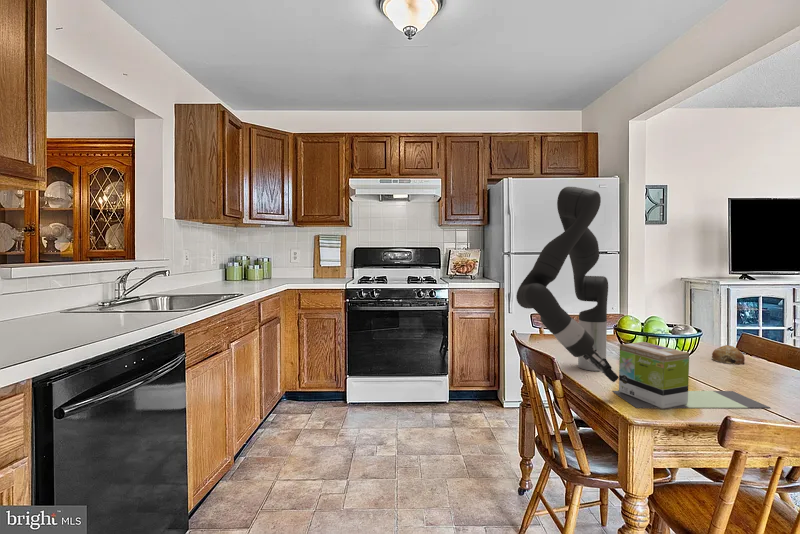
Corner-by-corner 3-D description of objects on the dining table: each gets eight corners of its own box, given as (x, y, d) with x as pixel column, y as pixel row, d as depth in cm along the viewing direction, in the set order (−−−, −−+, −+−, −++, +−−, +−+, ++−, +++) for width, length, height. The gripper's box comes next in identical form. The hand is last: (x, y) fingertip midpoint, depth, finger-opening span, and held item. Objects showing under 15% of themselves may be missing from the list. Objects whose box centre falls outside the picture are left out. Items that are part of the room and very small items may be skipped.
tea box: (617, 392, 134) (618, 343, 134) (642, 388, 138) (643, 340, 137) (662, 409, 120) (664, 354, 120) (689, 404, 124) (690, 351, 123)
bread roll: (715, 371, 171) (719, 355, 168) (706, 354, 180) (710, 338, 176) (745, 373, 168) (750, 356, 165) (735, 356, 177) (740, 340, 174)
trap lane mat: (612, 391, 136) (612, 390, 136) (732, 391, 136) (732, 391, 136) (636, 408, 122) (636, 407, 122) (770, 408, 122) (770, 407, 122)
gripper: (592, 331, 122) (636, 376, 122) (573, 323, 135) (614, 364, 135) (572, 351, 122) (616, 396, 122) (555, 341, 135) (596, 381, 136)
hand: (615, 379), depth 129 cm, fingers closed
